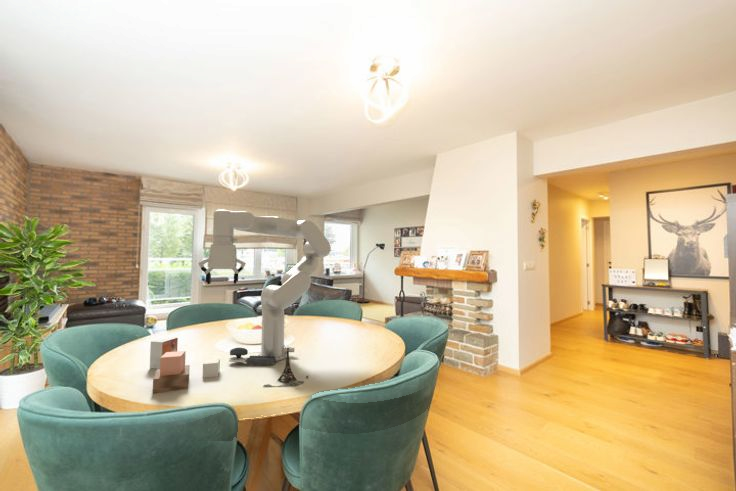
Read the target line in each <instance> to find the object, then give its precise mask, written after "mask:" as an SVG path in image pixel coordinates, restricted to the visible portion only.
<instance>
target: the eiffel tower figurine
mask: <svg viewBox="0 0 736 491" xmlns="http://www.w3.org/2000/svg"><path fill="white" fill-rule="evenodd" d="M290 364H291V363H290V352H289V348H287V357H286V358H285V365H284V369H283V371H282V372H281V374H280V376H279V377H278V379H277V380H276V382H278V383H280V384H281V385H277V386H275V385H272V384H270V383H267V384H263V386H262V387H263V388H281V387H284V388H285V387H286V388H287V387H292V388H293V387H299V386H302V385H304V384H305V382H304V381H303V380H301V381H300V380H299V381H298V379H297V378H296V377H295V375H294V372H293V371H292V368H291V365H290ZM305 379H307V380H308V379H309V375H306V377H305Z"/></svg>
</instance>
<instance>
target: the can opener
mask: <svg viewBox="0 0 736 491" xmlns="http://www.w3.org/2000/svg"><path fill="white" fill-rule="evenodd" d="M229 355H230V356H233V357H229V359H228V362H229V363H231V362H232V363H246V365H247V366H260V367H261V366H263V367H265V366H269V367H270V366H272V367H273V366H274V365H275V363H276V362H277V361H276V357H275V356H258V355H250V356H248V357H243V356H246V355H248V349H247V348H244V347H234V348H232V349H230V351H229Z"/></svg>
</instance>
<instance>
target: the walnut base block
mask: <svg viewBox="0 0 736 491" xmlns="http://www.w3.org/2000/svg"><path fill="white" fill-rule="evenodd" d="M189 383H190V365H189V364H187V365H186V364H185V369H184V370H183V371H182V373H181V374H176V375H164V376H160V369H156V370H155V373H154V375H153V378H152V394H153V395H154V394H162V393H167V392H172V391H173V392H174V391H179V390H180V391H181V390H186V389H187V390H188V389H189V385H190V384H189Z"/></svg>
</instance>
